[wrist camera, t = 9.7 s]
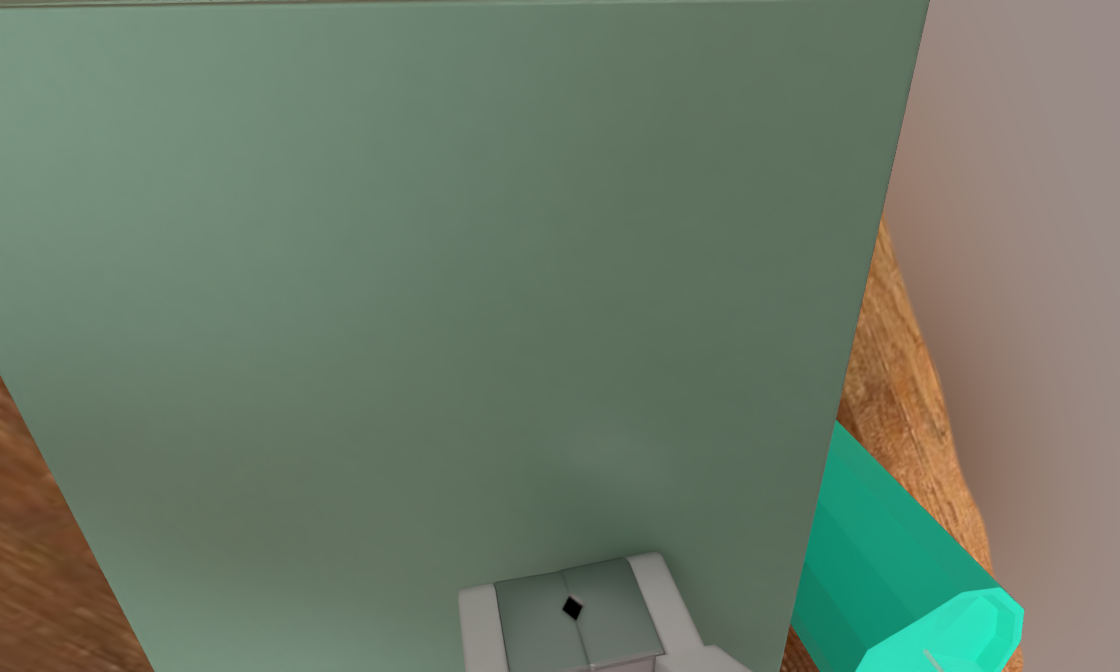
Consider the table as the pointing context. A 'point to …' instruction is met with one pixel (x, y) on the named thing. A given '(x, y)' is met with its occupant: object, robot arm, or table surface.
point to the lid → (438, 302)
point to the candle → (893, 581)
